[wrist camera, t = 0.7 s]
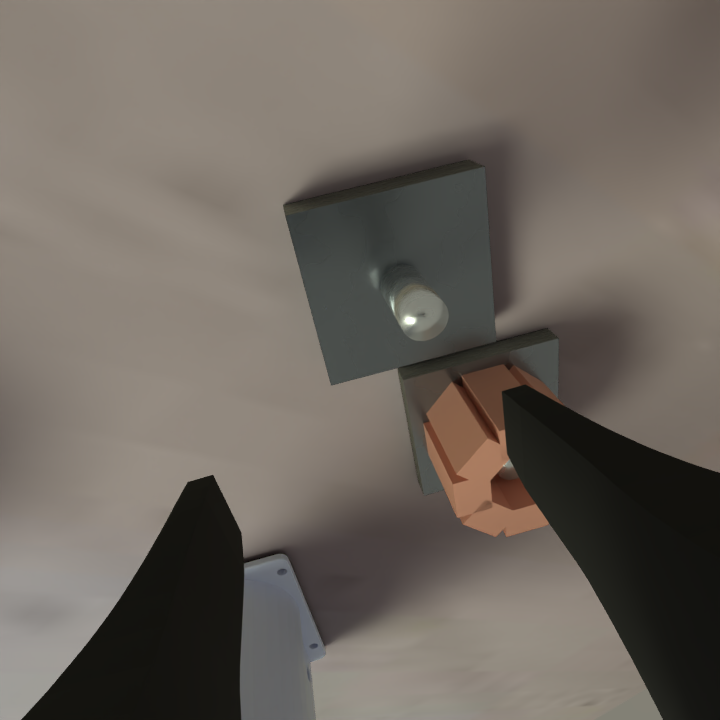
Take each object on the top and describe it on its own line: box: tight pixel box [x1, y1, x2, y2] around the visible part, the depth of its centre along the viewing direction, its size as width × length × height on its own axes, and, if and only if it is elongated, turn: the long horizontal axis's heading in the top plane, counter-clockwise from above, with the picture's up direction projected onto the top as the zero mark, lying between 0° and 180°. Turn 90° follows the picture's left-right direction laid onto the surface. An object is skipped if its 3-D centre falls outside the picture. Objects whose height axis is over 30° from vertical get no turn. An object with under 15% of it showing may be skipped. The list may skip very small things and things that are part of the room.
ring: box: [423, 364, 564, 537], centre depth 22 cm, size 6×6×4 cm
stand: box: [398, 328, 559, 495], centre depth 23 cm, size 7×7×4 cm
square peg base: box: [283, 160, 496, 385], centre depth 19 cm, size 7×7×4 cm
